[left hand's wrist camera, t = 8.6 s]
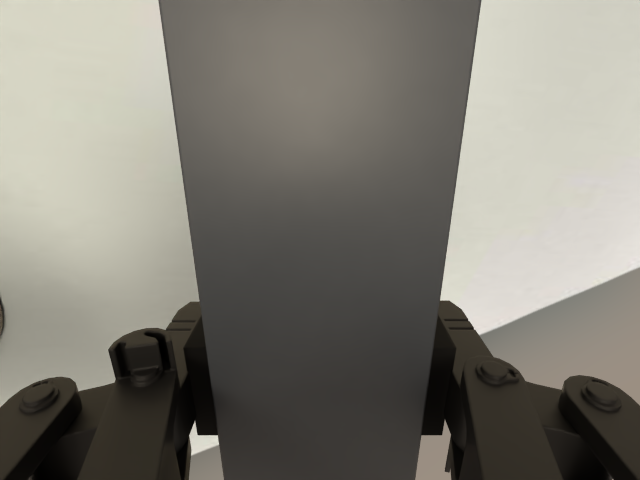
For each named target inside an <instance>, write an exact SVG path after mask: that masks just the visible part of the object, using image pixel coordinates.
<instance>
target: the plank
mask: <svg viewBox="0 0 640 480" xmlns="http://www.w3.org/2000/svg"><path fill="white" fill-rule="evenodd" d="M480 6H481V0H159V7H160V15H161V22H162V29H163V36H164V44H165V51H166V58H167V66H168V73H169V80H170V88H171V95H172V102H173V110H174V117H175V124H176V132H177V139H178V146H179V153H180V161H181V168H182V175H183V183H184V190H185V197H186V205H187V212H188V219H189V227H190V234H191V241H192V249H193V256H194V263H195V270H196V278H197V285H198V292H199V300H200V307H201V314H202V322H203V329H204V336H205V344H206V351H207V358H208V366H209V373H210V380H211V387H212V395H213V402H214V409H215V417H216V424H217V431H218V439H219V446H220V453H221V461H222V468H223V475H224V480H415V477H416V469H417V462H418V455H419V448H420V440H421V433H422V426H423V419H424V411H425V404H426V397H427V390H428V382H429V375H430V368H431V361H432V354H433V346H434V339H435V332H436V325H437V317H438V310H439V303H440V296H441V288H442V281H443V274H444V267H445V259H446V252H447V245H448V238H449V230H450V223H451V216H452V209H453V201H454V194H455V187H456V180H457V173H458V165H459V158H460V151H461V144H462V136H463V129H464V122H465V115H466V107H467V100H468V93H469V86H470V78H471V71H472V64H473V57H474V49H475V42H476V35H477V28H478V20H479V13H480Z"/></svg>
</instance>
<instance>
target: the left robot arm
mask: <svg viewBox="0 0 640 480" xmlns="http://www.w3.org/2000/svg"><path fill="white" fill-rule="evenodd" d="M2 325H3V316H2V309H1V305H0V334H1V331H2ZM108 351H109V355H110V358H111V362H112V366H113V370H114V374H115V378H116V380H115V383H112V384H108V385H105V386H101V387H96V388H92V389H87V390H83V391H78V389H77V386H76V383H75V382H74V381H73V380H72V379H70V378H65V377H55V378H48V379H45V380H42V381H38V382H36V383H33V384H31V385H29V386H28V387H26V388H24V389H22V390H20V391H19V392H18V393H16V394H15V395H14V396H12V397H11V398H10V399H9V400H8V401H7V402H6V403H5V404H4V405H3V406H1V407H0V480H189V470H190V459H191V444H190V438H189V434H190V432H191V429H192V426H193V424H194V421H195V422H196V428H197V434H198V435H218V431H217V424H216V417H215V409H214V402H213V395H212V387H211V380H210V373H209V366H208V358H207V351H206V344H205V336H204V329H203V322H202V314H201V307H200V302H190V303H188V304H187V305H185V306H184V307H183V308H181V309H180V310H178V312H177V313H176V315H175V316H174V318H173V319H172V323H170V324H169V325H168V327H167V328H166V330H163V329H159V328H146V329H141V330H137V331H133V332H131V333H129V334H126V335H124V336H122V337H121V338H119V339H118V340H117V341H115V342H114V343H113V344H112V346H111V347H110V348H109V349H108ZM444 420H446V423H447V425H448V428H449V430H450V433H451V438H450V444H449V449H448V455H447V461H446V467H445V472H450V469H451V480H612V479H614V480H640V406H639V405H638V404H637V403H636V402H635V401H634V400H633V399H632V398H631V397H630V396H629V395H627V394H626V393H625V392H623V391H622V390H621V389H620V388H618V387H616V386H614V385H612V384H610V383H608V382H606V381H603V380H601V379H598V378H594V377H590V376H582V375H578V376H572V377H569V378H568V379H567V380H565V381H564V385H563V388H562V390H559V389H555V388H550V387H546V386H541V385H537V384H533V383H530V382H526V381H525V380H524V378H523V376H522V375H521V373H520V372H519V371H518V370H517V369H516V368H514V367H513V366H512V365H511V364H509V363H507V362H505V361H503V360H501V359H498V358H494V357H493V356H492V354H491V353H490V351H489V350H488V348H487V347H486V345H485V344H484V342H483V341H482V339H481V338H480V336H479V335H478V333H477V332H476V330H474V327H473V326H472V324H471V323H470V321H468V318H467V317H466V315H465V314H464V312H463V311H462V309H460V308H459V307H457V306H456V305H455V304H453V303H452V302H450V301H440V303H439V310H438V317H437V325H436V332H435V339H434V346H433V354H432V361H431V368H430V375H429V382H428V390H427V397H426V404H425V411H424V419H423V426H422V433H421V435H442V432H443V426H444Z"/></svg>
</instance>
